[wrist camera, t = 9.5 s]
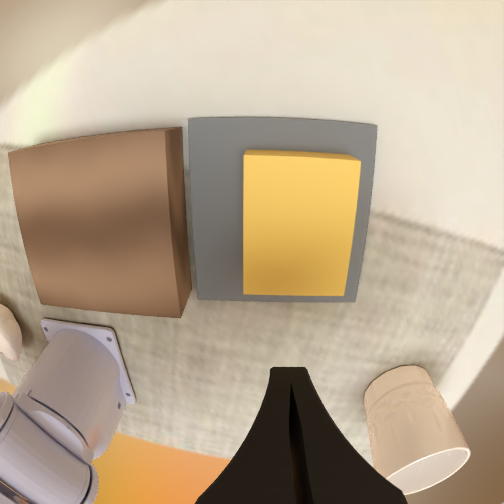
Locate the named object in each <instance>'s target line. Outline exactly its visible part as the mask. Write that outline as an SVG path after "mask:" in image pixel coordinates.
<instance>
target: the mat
mask: <svg viewBox="0 0 504 504" xmlns="http://www.w3.org/2000/svg"><path fill="white" fill-rule="evenodd" d="M188 135H189V168H190V192H191V211H192V228H193V244H194V258H195V271H196V283H197V294H198V299H204V300H230V301H264V302H355V300H356V295H357V290H358V284H359V279H360V273H361V267H362V261H363V255H364V249H365V242H366V235H367V228H368V220H369V213H370V204H371V196H372V186H373V176H374V166H375V154H376V140H377V125H370V124H361V123H352V122H341V121H330V120H316V119H299V118H272V117H216V118H190V119H188ZM246 150H282V151H304V152H322V153H336V154H348V155H351V156H353V157H355V158H356V159H358V160H360V161H361V169H360V180H359V190H358V200H357V209H356V217H355V225H354V233H353V240H352V248H351V255H350V261H349V268H348V274H347V280H346V286H345V292H344V296H292V295H251V294H243V182H244V154H245V152H246Z"/></svg>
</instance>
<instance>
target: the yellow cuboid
mask: <svg viewBox="0 0 504 504" xmlns="http://www.w3.org/2000/svg"><path fill="white" fill-rule="evenodd" d="M360 169H361V161H360V160H358V159H356V158H355V157H353V156H351V155H348V154H336V153H322V152H304V151H282V150H246V152H245V154H244V182H243V294H251V295H292V296H344V292H345V286H346V280H347V274H348V268H349V261H350V255H351V248H352V240H353V233H354V225H355V217H356V209H357V200H358V190H359V180H360Z"/></svg>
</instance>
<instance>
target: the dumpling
mask: <svg viewBox="0 0 504 504" xmlns="http://www.w3.org/2000/svg"><path fill="white" fill-rule="evenodd" d="M21 349H22V334H21V329H20V327H19V324H18V323H17V322H16V319H15V317H14V315H13V313H12V312H11V311H10V310H9V309H8V308H7V307H5V306H4V305H2V304H0V352H1V353H3V354H4V355H5V356H6V357H7V358H9V359H10V360H12V361H18V360H19V357H20V354H21Z"/></svg>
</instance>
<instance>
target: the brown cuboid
mask: <svg viewBox="0 0 504 504" xmlns="http://www.w3.org/2000/svg"><path fill="white" fill-rule="evenodd" d="M8 156H9V165H10V173H11V181H12V187H13V194H14V199H15V205H16V211H17V216H18V221H19V225H20V230H21V234H22V239H23V243H24V247H25V251H26V255H27V259H28V263H29V266H30V270H31V273H32V277H33V280H34V283H35V287H36V290H37V293H38V296H39V299H40V302H41V304H44V305H51V306H58V307H66V308H75V309H83V310H92V311H101V312H111V313H121V314H132V315H144V316H157V317H171V318H181V316H182V313H183V311H184V308H185V305H186V303H187V300H188V298H189V295H190V292H191V290H192V287H191V276H190V264H189V252H188V239H187V225H186V209H185V191H184V170H183V143H182V127H173V128H158V129H146V130H135V131H125V132H115V133H107V134H99V135H91V136H84V137H78V138H71V139H65V140H59V141H53V142H48V143H42V144H38V145H34V146H30V147H26V148H23V149H19V150H16V151H12V152H9V153H8Z"/></svg>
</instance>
